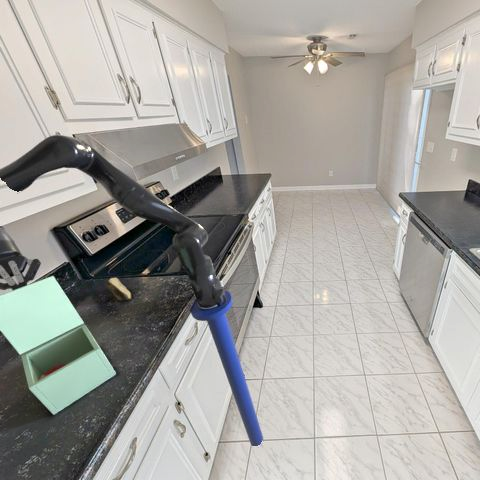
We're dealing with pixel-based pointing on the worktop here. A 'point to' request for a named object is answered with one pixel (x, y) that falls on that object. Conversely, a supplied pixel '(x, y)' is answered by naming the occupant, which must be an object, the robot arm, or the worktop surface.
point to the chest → (66, 368)
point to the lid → (36, 314)
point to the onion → (52, 370)
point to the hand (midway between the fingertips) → (25, 296)
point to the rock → (118, 289)
